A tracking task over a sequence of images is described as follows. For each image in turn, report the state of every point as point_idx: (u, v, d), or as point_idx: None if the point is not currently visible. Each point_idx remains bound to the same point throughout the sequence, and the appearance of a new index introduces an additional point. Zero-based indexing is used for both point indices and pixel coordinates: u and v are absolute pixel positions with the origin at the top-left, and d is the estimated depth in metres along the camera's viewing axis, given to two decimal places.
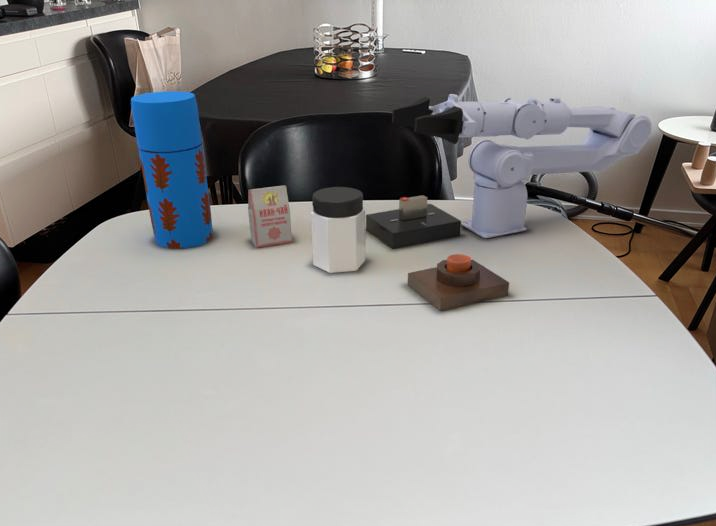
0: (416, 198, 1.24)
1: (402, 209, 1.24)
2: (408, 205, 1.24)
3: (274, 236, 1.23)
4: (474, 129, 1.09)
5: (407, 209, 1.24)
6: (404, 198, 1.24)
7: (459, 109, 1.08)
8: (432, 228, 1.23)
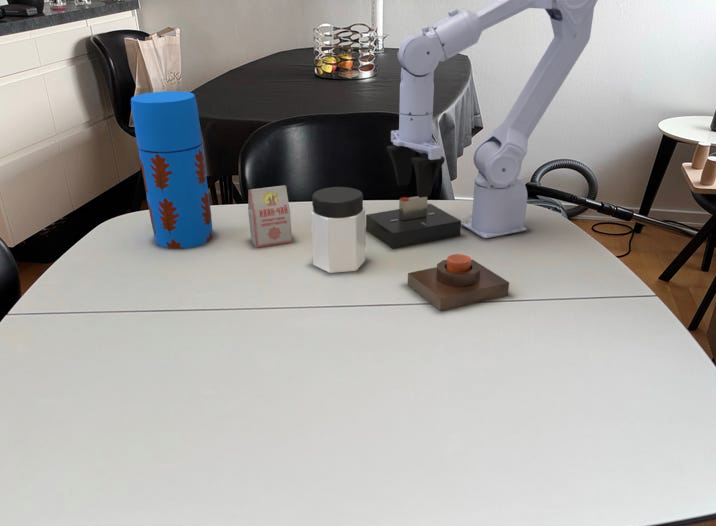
0: (416, 198, 1.24)
1: (402, 209, 1.24)
2: (408, 205, 1.24)
3: (274, 236, 1.23)
4: (437, 149, 1.14)
5: (407, 209, 1.24)
6: (404, 198, 1.24)
7: (417, 163, 1.15)
8: (432, 228, 1.23)
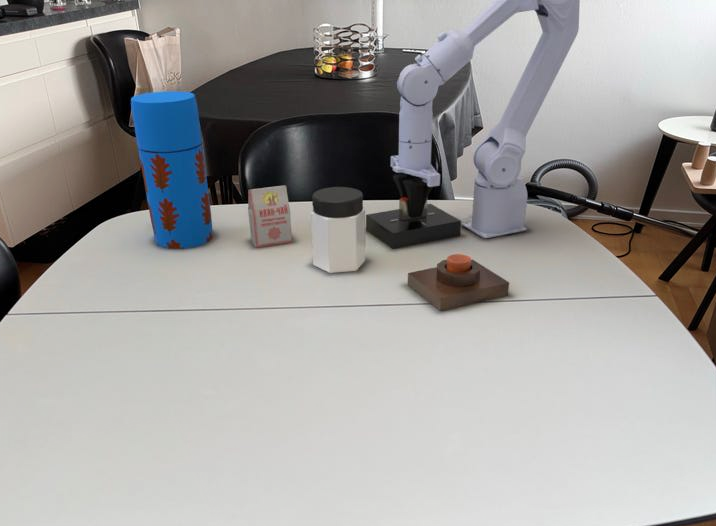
0: None
1: (402, 209, 1.24)
2: (408, 205, 1.24)
3: (274, 236, 1.23)
4: (436, 177, 1.16)
5: (407, 209, 1.24)
6: (404, 198, 1.24)
7: (409, 185, 1.20)
8: (432, 228, 1.23)
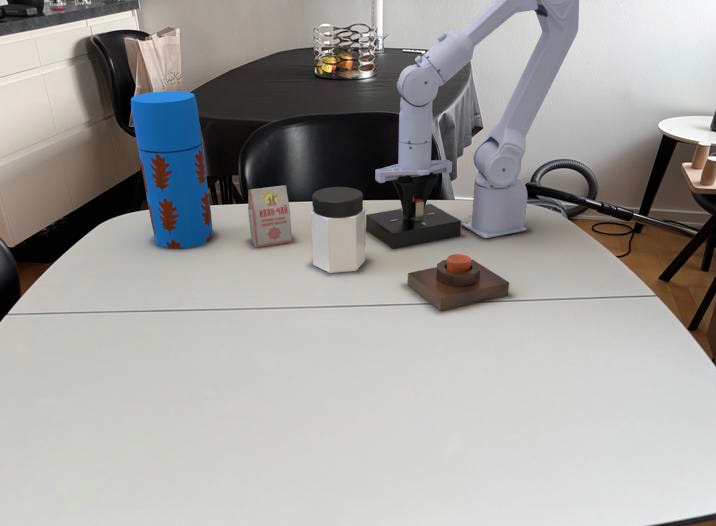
0: (413, 197, 1.25)
1: (423, 210, 1.24)
2: None
3: (274, 236, 1.23)
4: None
5: None
6: (418, 199, 1.23)
7: (435, 181, 1.22)
8: (432, 228, 1.23)
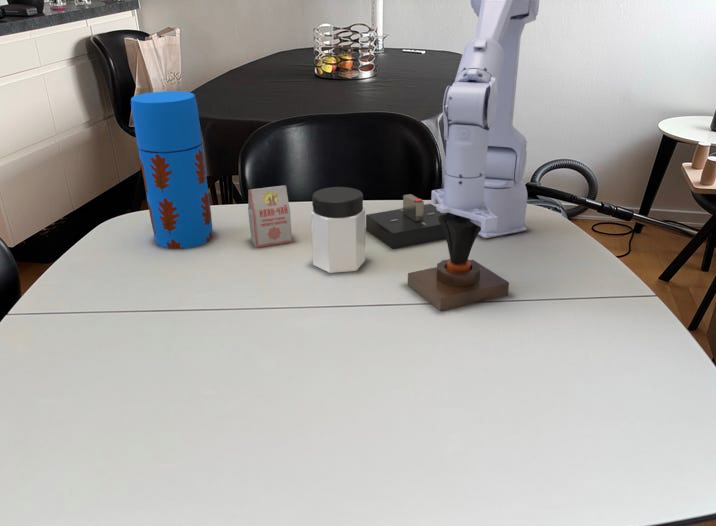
0: (413, 197, 1.25)
1: (423, 210, 1.24)
2: None
3: (274, 236, 1.23)
4: (492, 219, 0.94)
5: None
6: (418, 199, 1.23)
7: (454, 227, 0.98)
8: (432, 228, 1.23)
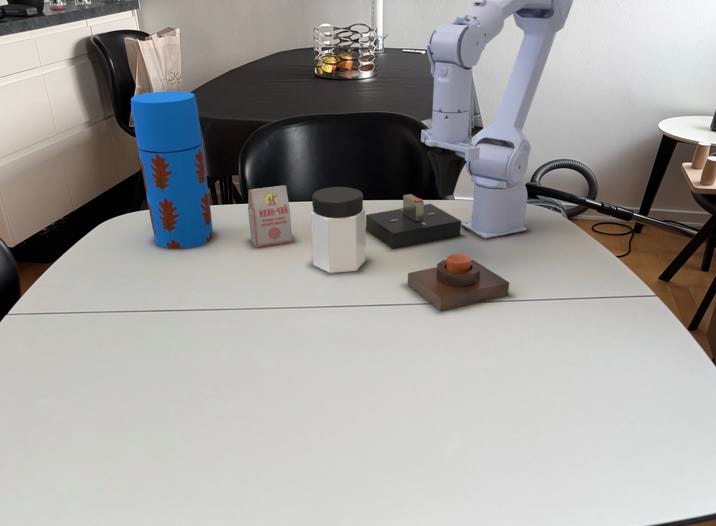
0: (413, 197, 1.25)
1: (423, 210, 1.24)
2: None
3: (274, 236, 1.23)
4: (475, 150, 1.04)
5: None
6: (418, 199, 1.23)
7: (441, 159, 1.08)
8: (432, 228, 1.23)
